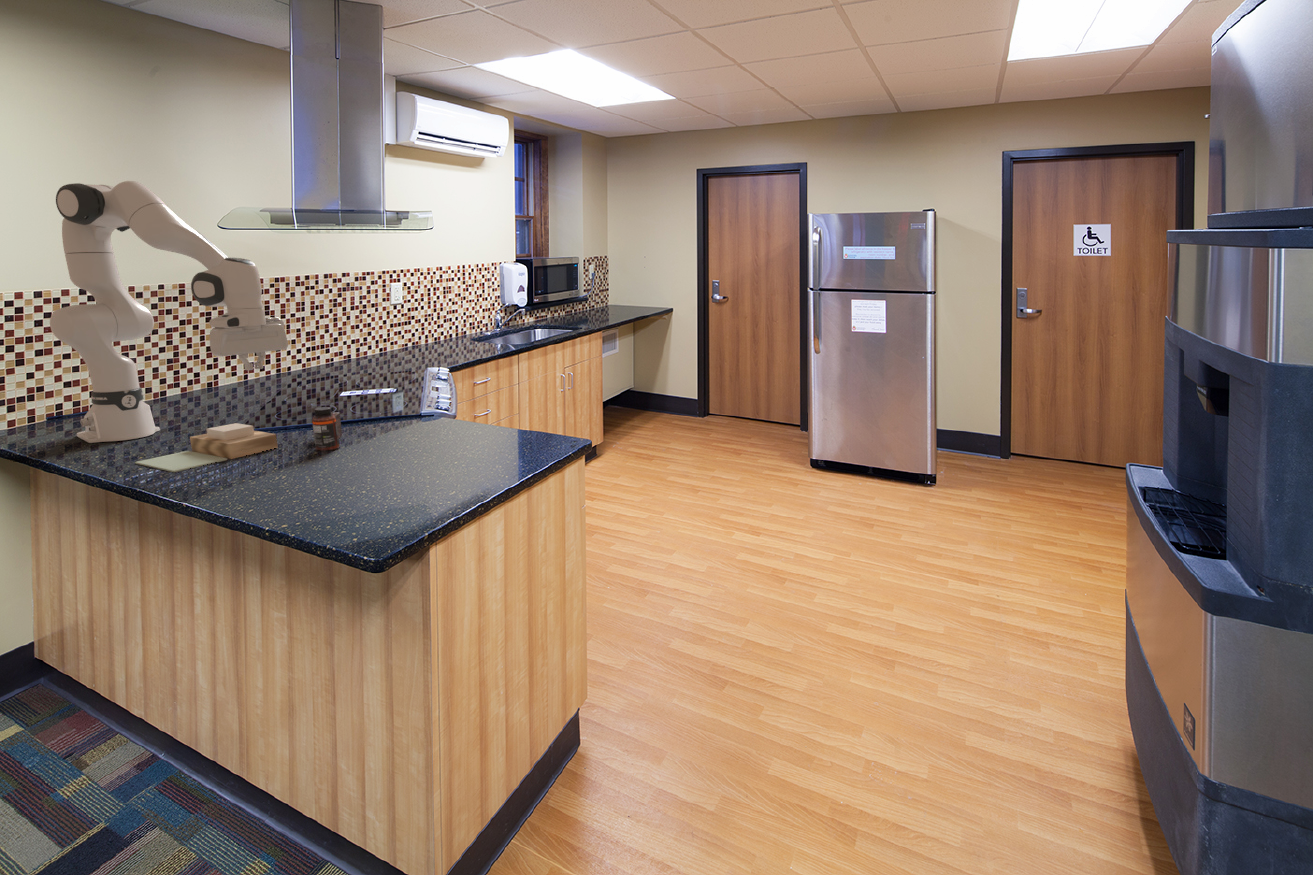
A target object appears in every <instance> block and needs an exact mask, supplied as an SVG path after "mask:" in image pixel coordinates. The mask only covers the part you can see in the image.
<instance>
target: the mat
mask: <svg viewBox="0 0 1313 875" xmlns="http://www.w3.org/2000/svg"><path fill="white" fill-rule="evenodd" d="M227 460H228V458H223V457H218V456H213V455H208V454H203V453H198V452H193V451H192V450H184V451H180V452H175V453H172V454H167V455H162V456H158V457H153V458H152V457H151V458H148V459H143V460H142V459H141V460H138V461H134V462H135V464H137V465H141V466H144V467H150V468H152V469H153V468H154V469H158V470H162V471H167V472H170V473H171V472H172V473H177V472H182V471H186V470H191V469H194V468H199V467H204V466H208V465H212V464H216V463H215V462H217V463H220V462H225V461H227ZM211 463H212V464H211ZM207 464H208V465H207ZM203 465H204V466H203ZM190 468H191V469H190Z"/></svg>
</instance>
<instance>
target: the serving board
mask: <svg viewBox="0 0 1313 875" xmlns="http://www.w3.org/2000/svg"><path fill="white" fill-rule="evenodd" d="M277 440H278V439H277V433H271V432H265V431H259V430H254V435H249V436H245V437H240V438H235V439H230V440H219V439H214V438H208V435H207V433H203V434H199V435H193V436H189V441H190V447H191V451H192V452H197V453H202V454H207V455H212V456H217V457H222V458H227V460H233V459H238V458H241V457H242V458H243V457H246V455H247V456H250V455H254V453H255V454H258V453H263V452H262V451H264V452H267V451H266V450H268V451H271V450H270V449H272V450H275V449H274V448H277V449H278V448H279V447H278V446H279V445H278V441H277Z"/></svg>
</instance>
